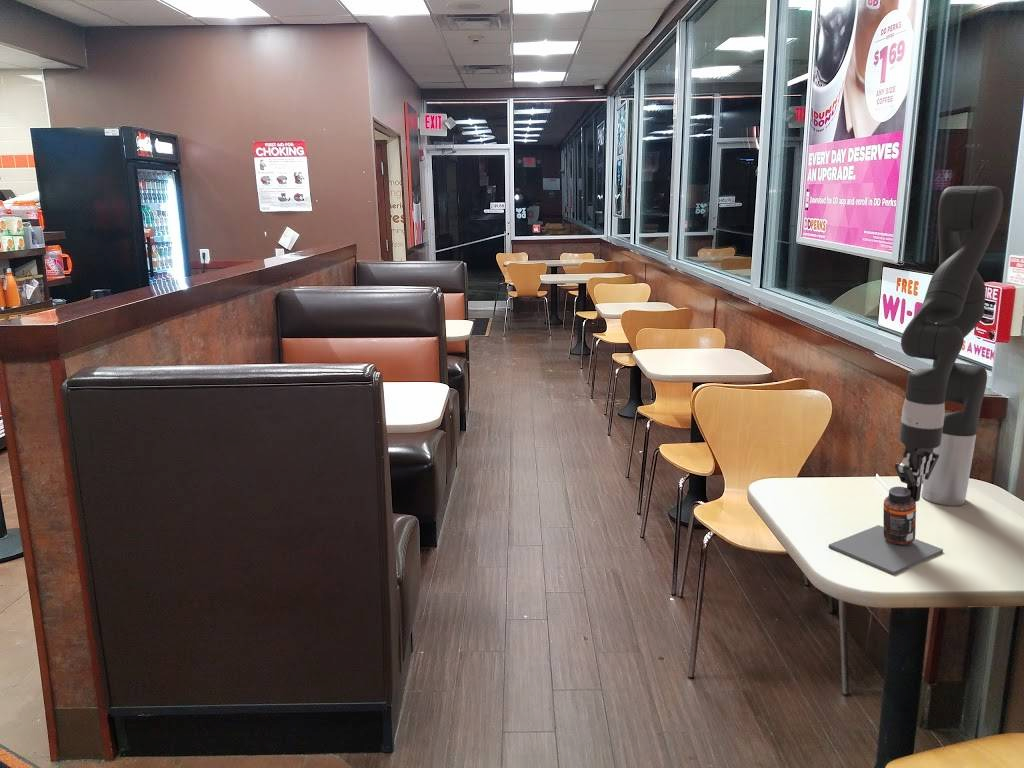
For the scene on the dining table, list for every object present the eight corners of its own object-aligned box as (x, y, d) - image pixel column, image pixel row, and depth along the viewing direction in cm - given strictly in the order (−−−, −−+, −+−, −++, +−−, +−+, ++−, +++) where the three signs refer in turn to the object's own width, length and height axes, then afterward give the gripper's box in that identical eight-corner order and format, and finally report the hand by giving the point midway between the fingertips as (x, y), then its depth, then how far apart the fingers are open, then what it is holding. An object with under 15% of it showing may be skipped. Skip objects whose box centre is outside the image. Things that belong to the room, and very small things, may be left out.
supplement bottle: (919, 545, 156) (920, 497, 152) (888, 547, 157) (888, 500, 153) (909, 528, 161) (910, 482, 157) (879, 530, 162) (879, 484, 158)
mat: (878, 527, 167) (878, 525, 167) (942, 552, 156) (943, 549, 156) (828, 547, 157) (828, 544, 157) (893, 574, 146) (893, 571, 146)
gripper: (922, 432, 147) (912, 515, 152) (958, 419, 154) (947, 498, 159) (885, 423, 153) (877, 502, 158) (921, 410, 160) (912, 487, 165)
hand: (912, 500), depth 158 cm, fingers closed
